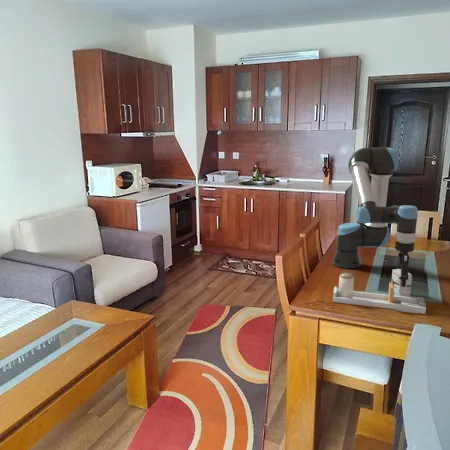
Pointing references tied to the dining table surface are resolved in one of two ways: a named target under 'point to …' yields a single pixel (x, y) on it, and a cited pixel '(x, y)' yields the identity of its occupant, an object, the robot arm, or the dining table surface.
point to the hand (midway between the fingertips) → (400, 288)
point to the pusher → (390, 295)
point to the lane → (383, 301)
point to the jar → (346, 285)
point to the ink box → (396, 282)
